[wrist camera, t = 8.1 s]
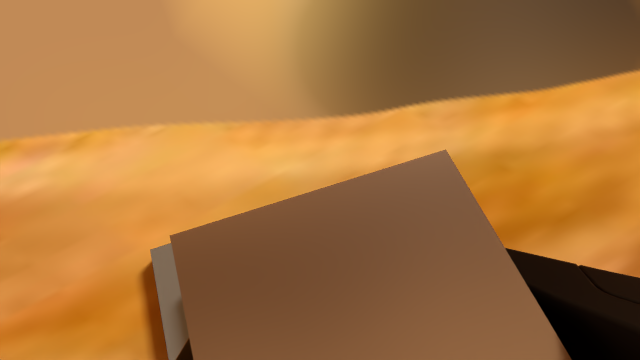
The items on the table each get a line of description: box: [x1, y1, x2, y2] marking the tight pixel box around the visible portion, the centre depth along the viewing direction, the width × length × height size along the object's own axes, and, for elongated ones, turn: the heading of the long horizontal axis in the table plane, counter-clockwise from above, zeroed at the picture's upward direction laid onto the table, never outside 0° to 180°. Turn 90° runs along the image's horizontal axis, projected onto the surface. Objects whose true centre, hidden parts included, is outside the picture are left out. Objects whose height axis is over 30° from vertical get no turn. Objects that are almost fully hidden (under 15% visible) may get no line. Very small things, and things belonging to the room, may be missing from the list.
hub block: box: [170, 150, 572, 360], centre depth 9 cm, size 5×5×10 cm
